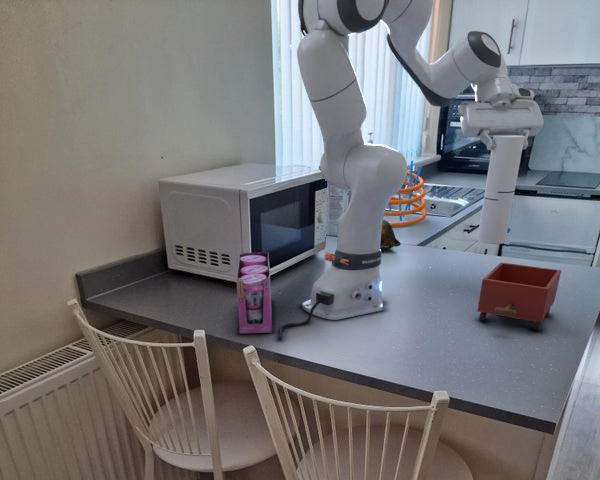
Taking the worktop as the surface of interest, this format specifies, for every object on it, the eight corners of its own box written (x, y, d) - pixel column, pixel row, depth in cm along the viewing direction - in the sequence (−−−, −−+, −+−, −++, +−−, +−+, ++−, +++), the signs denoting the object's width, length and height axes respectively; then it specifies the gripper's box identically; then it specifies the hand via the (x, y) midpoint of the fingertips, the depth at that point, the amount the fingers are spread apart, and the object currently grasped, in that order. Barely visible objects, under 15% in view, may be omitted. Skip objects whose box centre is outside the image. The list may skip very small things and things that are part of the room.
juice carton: (339, 237, 210) (341, 162, 196) (316, 234, 215) (316, 161, 201) (349, 232, 217) (351, 160, 203) (326, 230, 221) (327, 159, 208)
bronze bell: (336, 224, 189) (379, 203, 192) (339, 249, 198) (380, 229, 201) (362, 249, 180) (407, 227, 182) (364, 274, 189) (406, 253, 192)
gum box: (272, 335, 126) (270, 279, 119) (239, 336, 126) (234, 280, 119) (271, 301, 147) (269, 251, 140) (242, 302, 147) (238, 252, 140)
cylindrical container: (507, 244, 138) (526, 137, 126) (478, 243, 140) (495, 137, 127) (503, 238, 144) (522, 135, 132) (476, 237, 146) (492, 134, 133)
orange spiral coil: (436, 217, 244) (446, 161, 230) (406, 239, 220) (415, 178, 206) (368, 204, 259) (373, 151, 245) (333, 223, 235) (336, 165, 220)
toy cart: (533, 342, 120) (543, 295, 115) (468, 330, 127) (475, 285, 122) (551, 312, 136) (561, 270, 131) (493, 303, 143) (500, 262, 138)
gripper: (461, 91, 129) (473, 139, 126) (539, 90, 132) (553, 137, 129) (451, 112, 135) (462, 158, 132) (526, 110, 138) (539, 156, 135)
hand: (508, 148), depth 130 cm, fingers closed on cylindrical container, 7 cm apart
